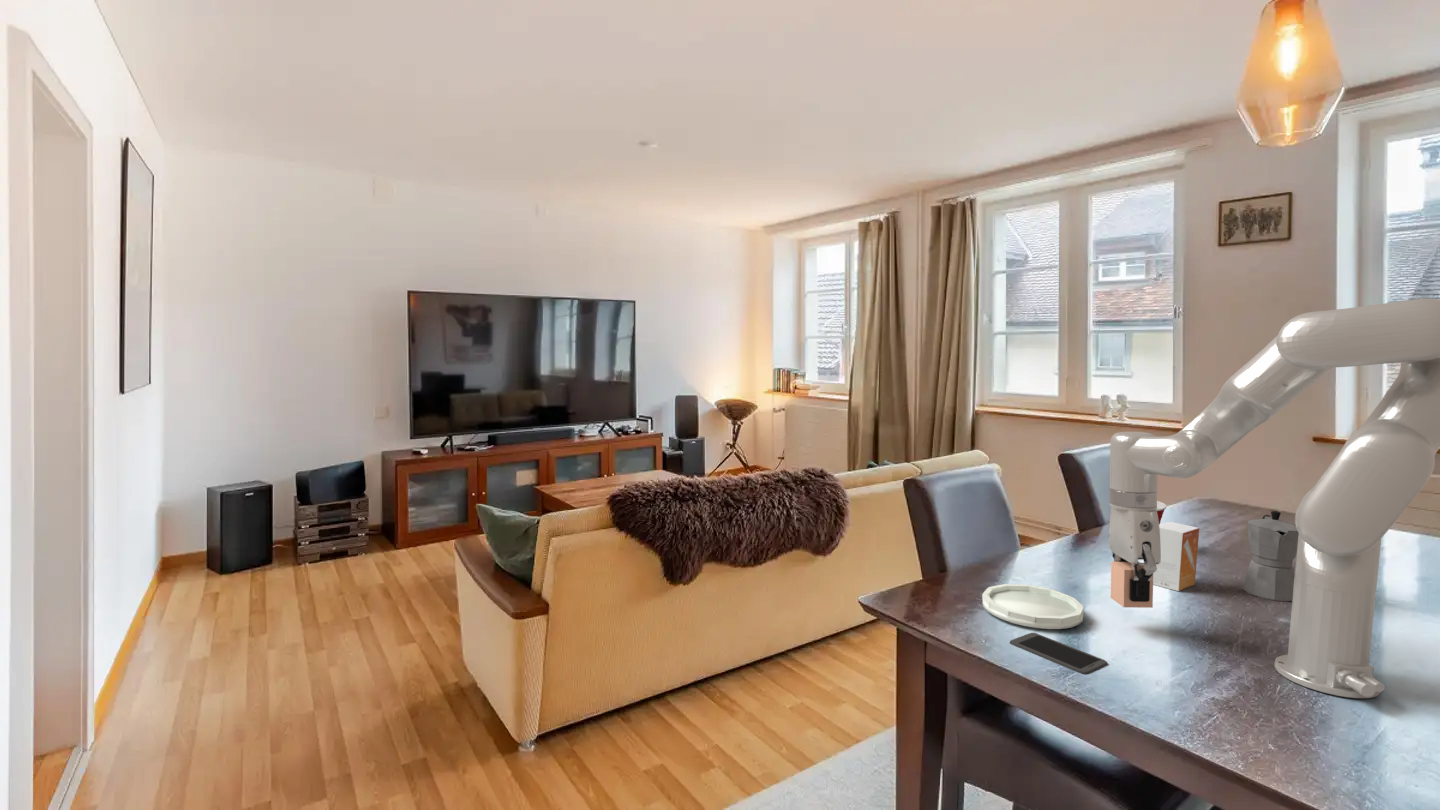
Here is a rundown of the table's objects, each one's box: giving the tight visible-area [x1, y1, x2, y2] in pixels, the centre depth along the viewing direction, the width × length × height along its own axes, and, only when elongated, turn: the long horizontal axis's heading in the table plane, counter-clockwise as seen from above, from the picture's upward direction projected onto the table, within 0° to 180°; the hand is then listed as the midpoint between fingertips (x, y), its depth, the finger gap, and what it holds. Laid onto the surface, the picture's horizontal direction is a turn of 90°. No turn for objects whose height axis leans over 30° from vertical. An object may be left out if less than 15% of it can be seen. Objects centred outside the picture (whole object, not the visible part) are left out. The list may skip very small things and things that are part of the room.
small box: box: [1153, 521, 1200, 592], centre depth 150 cm, size 8×6×13 cm
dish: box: [981, 583, 1085, 630], centre depth 134 cm, size 18×18×3 cm
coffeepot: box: [1242, 510, 1299, 602], centre depth 145 cm, size 15×9×18 cm, turn 151°
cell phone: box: [1009, 632, 1108, 675], centre depth 117 cm, size 7×14×1 cm, turn 32°
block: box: [1110, 561, 1154, 609], centre depth 126 cm, size 5×5×7 cm
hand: (1131, 594), depth 127 cm, fingers closed on block, 5 cm apart
